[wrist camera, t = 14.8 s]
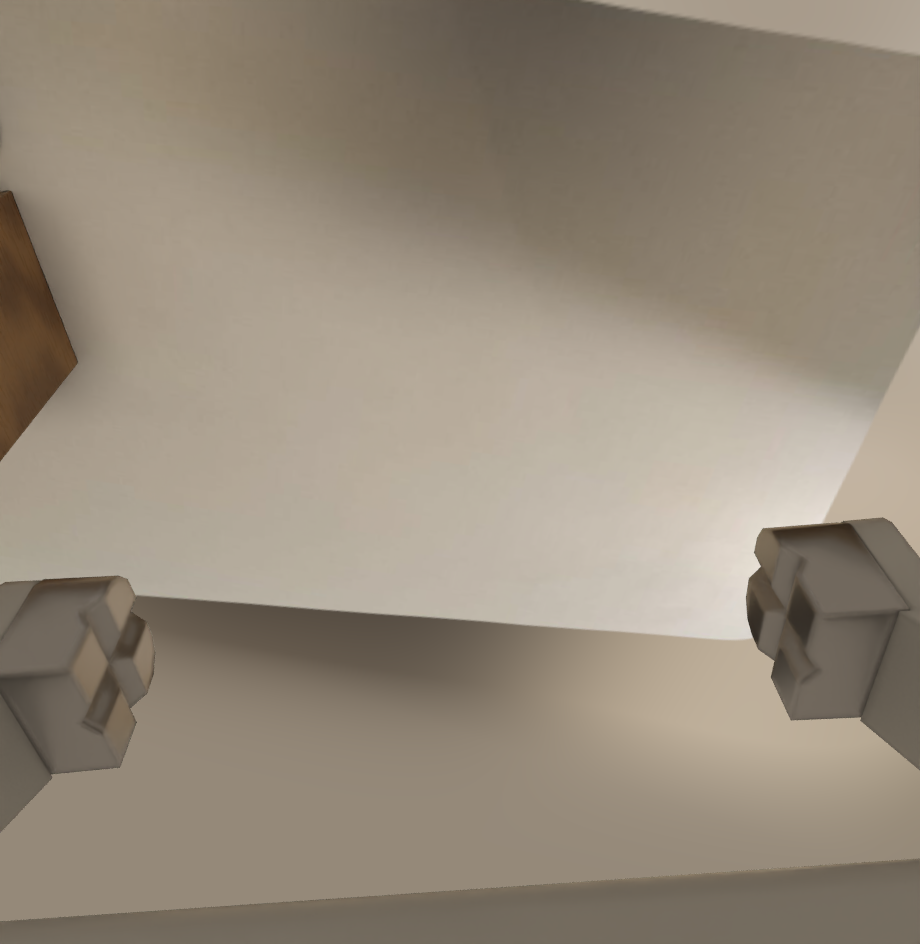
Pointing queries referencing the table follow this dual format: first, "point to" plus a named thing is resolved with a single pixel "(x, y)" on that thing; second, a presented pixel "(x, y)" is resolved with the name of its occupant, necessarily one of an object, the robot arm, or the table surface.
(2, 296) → the oak stand
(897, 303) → the table surface
